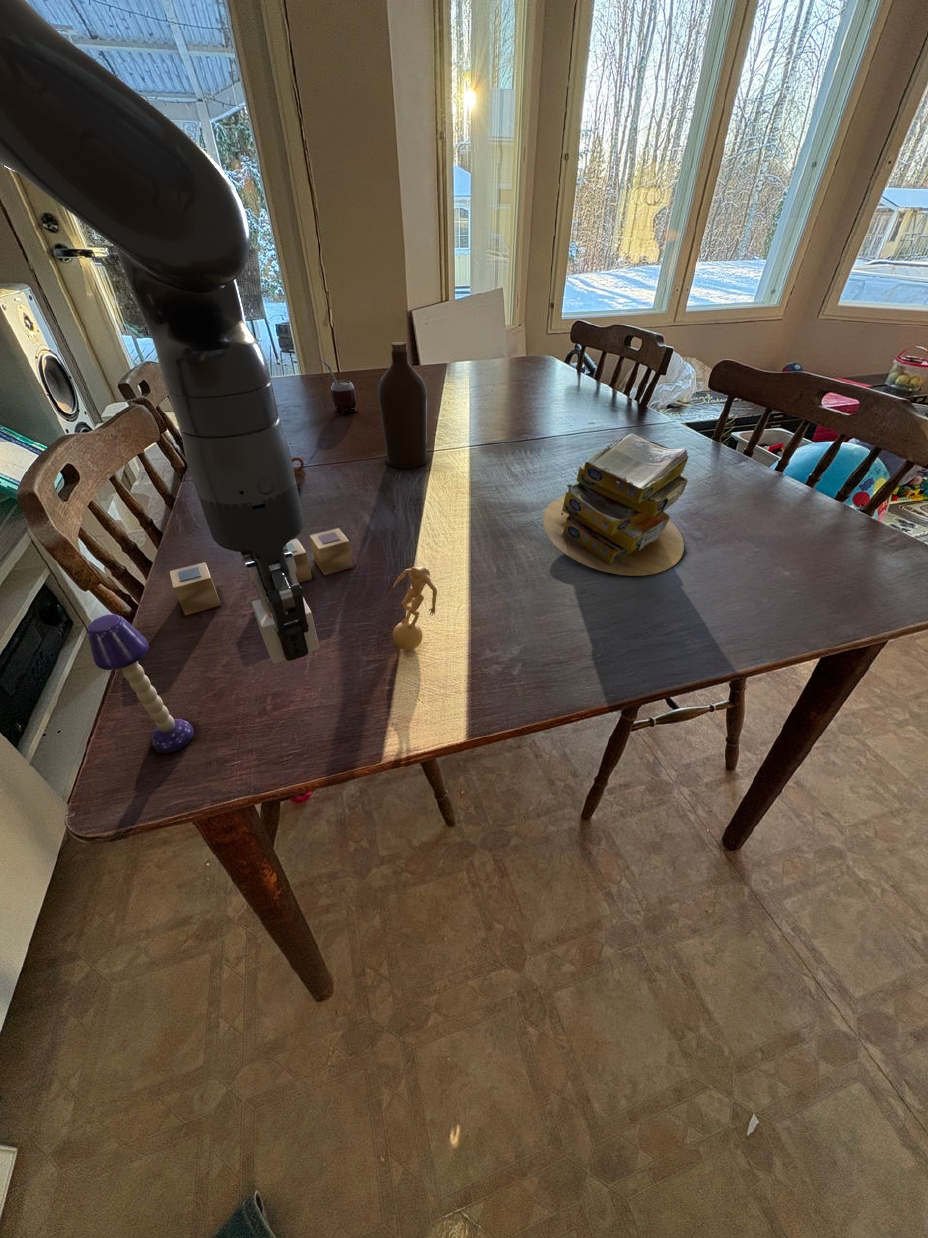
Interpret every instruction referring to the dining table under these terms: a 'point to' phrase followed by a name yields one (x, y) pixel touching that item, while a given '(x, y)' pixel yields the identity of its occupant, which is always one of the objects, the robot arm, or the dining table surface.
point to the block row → (329, 556)
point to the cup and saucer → (299, 472)
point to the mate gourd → (342, 394)
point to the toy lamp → (136, 676)
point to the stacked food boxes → (622, 509)
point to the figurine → (413, 608)
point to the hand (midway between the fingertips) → (289, 640)
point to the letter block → (271, 635)
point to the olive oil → (403, 411)
